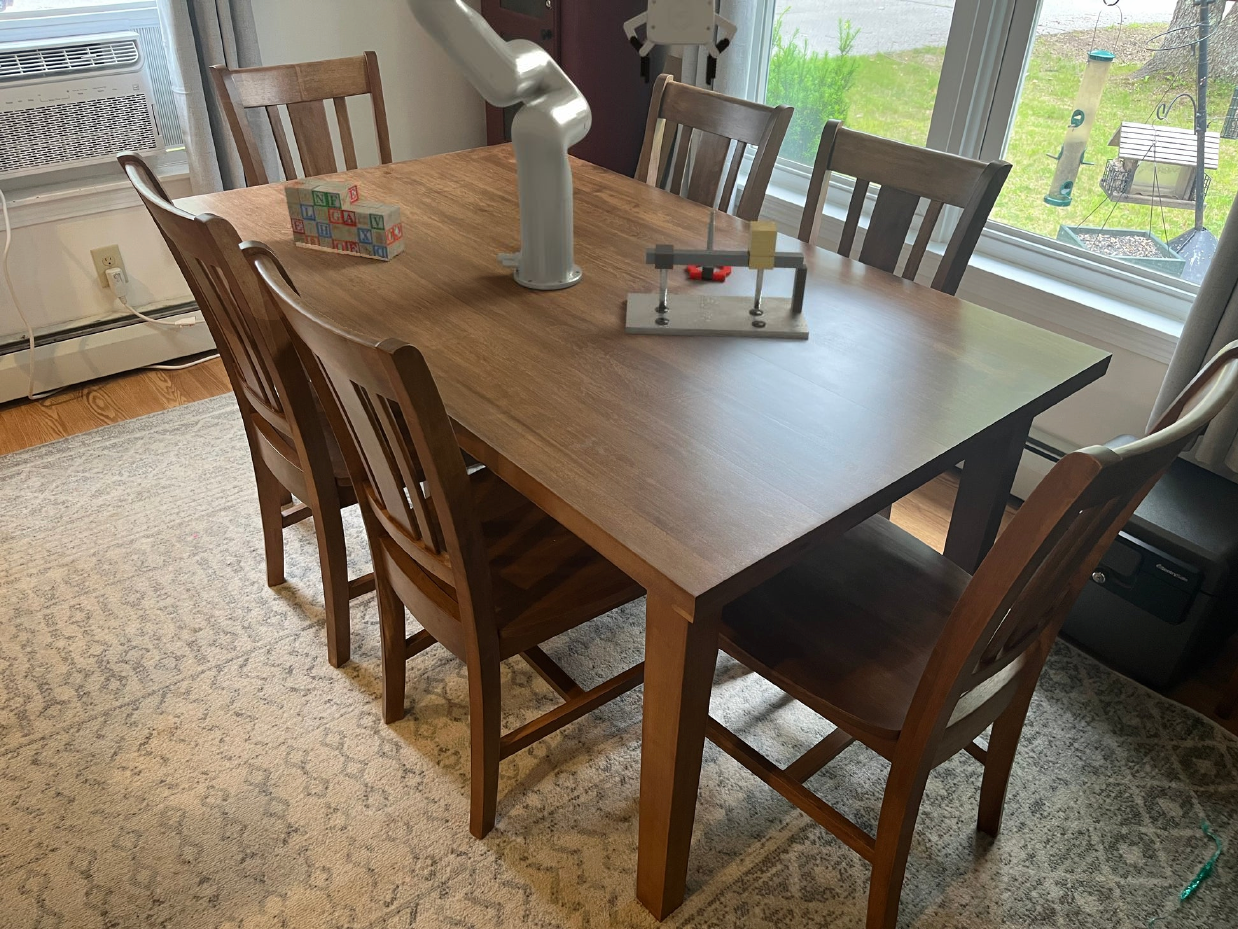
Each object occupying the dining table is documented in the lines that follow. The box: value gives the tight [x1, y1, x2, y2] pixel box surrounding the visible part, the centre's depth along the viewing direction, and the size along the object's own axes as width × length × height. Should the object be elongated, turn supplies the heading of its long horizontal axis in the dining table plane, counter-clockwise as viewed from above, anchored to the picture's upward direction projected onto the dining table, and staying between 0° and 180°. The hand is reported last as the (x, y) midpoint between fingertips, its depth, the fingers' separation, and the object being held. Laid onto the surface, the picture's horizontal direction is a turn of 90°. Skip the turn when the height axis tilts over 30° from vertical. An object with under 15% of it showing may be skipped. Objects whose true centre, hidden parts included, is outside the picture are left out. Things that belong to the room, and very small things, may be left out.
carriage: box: [747, 220, 778, 309], centre depth 159 cm, size 4×4×14 cm
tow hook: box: [686, 209, 732, 282], centre depth 177 cm, size 8×13×9 cm
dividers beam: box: [645, 243, 808, 312], centre depth 161 cm, size 27×5×10 cm, turn 88°
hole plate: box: [625, 292, 810, 340], centre depth 162 cm, size 30×14×1 cm, turn 88°
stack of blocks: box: [283, 177, 405, 259], centre depth 184 cm, size 21×6×12 cm, turn 70°
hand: (677, 82), depth 150 cm, fingers open, 9 cm apart
